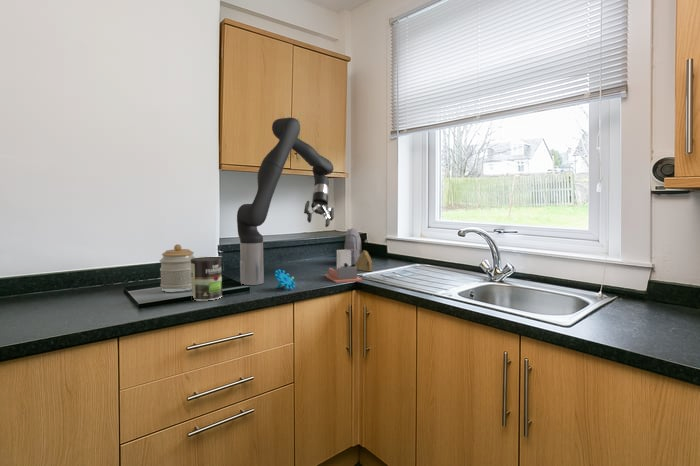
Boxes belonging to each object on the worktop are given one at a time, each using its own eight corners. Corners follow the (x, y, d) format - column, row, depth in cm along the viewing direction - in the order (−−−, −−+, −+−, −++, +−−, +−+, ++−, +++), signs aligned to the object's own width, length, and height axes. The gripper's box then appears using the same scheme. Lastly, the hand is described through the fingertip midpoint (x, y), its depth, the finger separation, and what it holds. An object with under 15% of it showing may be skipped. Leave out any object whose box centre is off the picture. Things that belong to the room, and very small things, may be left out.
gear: (285, 288, 142) (271, 268, 145) (275, 298, 144) (262, 278, 147) (302, 286, 152) (289, 267, 155) (292, 296, 153) (280, 277, 157)
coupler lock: (340, 278, 165) (340, 251, 164) (336, 276, 169) (336, 250, 169) (351, 278, 166) (351, 250, 165) (347, 275, 171) (347, 249, 170)
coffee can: (228, 296, 136) (227, 257, 135) (204, 303, 128) (203, 261, 127) (210, 293, 142) (209, 255, 141) (185, 299, 133) (184, 259, 132)
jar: (189, 284, 157) (188, 241, 156) (202, 289, 148) (201, 244, 146) (155, 289, 148) (154, 244, 147) (167, 295, 139) (165, 247, 137)
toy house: (379, 267, 186) (374, 261, 196) (369, 253, 184) (365, 248, 194) (361, 280, 186) (357, 273, 196) (351, 267, 184) (348, 261, 194)
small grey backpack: (349, 262, 216) (349, 227, 214) (363, 262, 214) (363, 227, 213) (343, 266, 201) (343, 228, 200) (358, 267, 200) (359, 229, 198)
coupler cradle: (336, 283, 160) (336, 269, 159) (324, 276, 175) (324, 263, 174) (362, 280, 164) (362, 267, 164) (348, 274, 179) (348, 262, 179)
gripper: (309, 187, 178) (306, 216, 170) (337, 195, 183) (335, 224, 175) (304, 195, 184) (301, 224, 176) (331, 203, 189) (329, 231, 181)
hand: (318, 224), depth 176 cm, fingers open, 8 cm apart
